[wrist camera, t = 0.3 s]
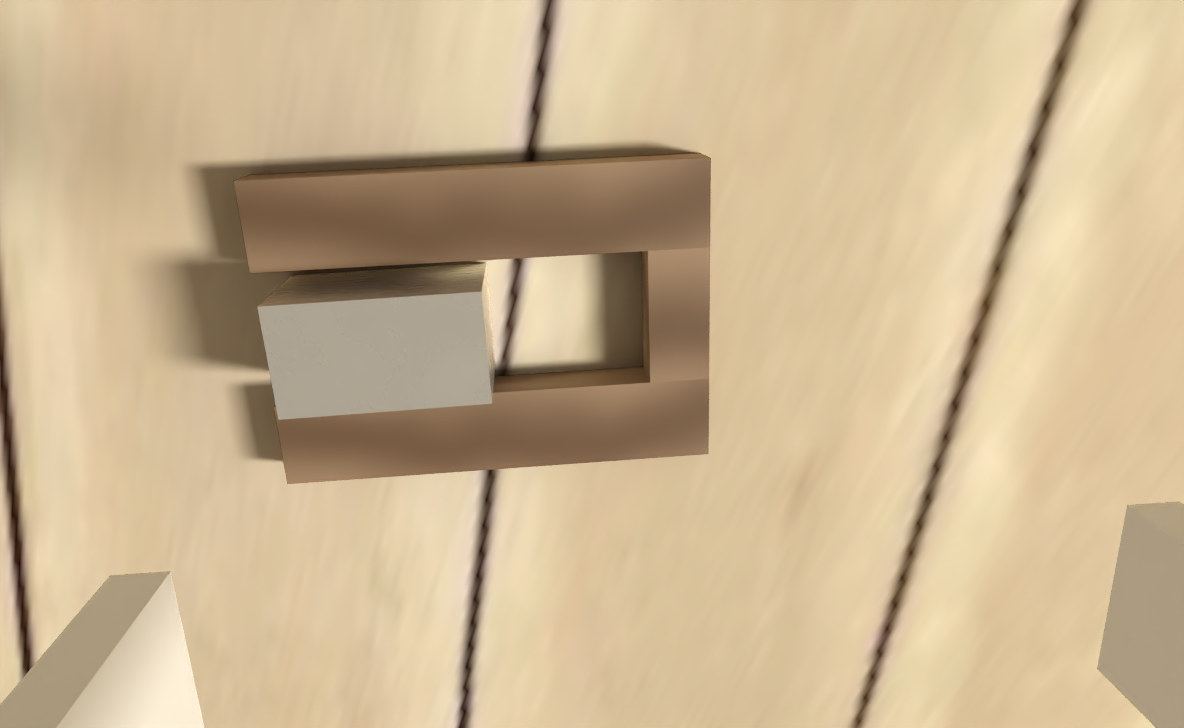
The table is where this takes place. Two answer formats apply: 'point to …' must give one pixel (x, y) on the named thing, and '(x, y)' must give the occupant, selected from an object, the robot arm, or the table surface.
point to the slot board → (505, 231)
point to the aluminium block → (380, 341)
